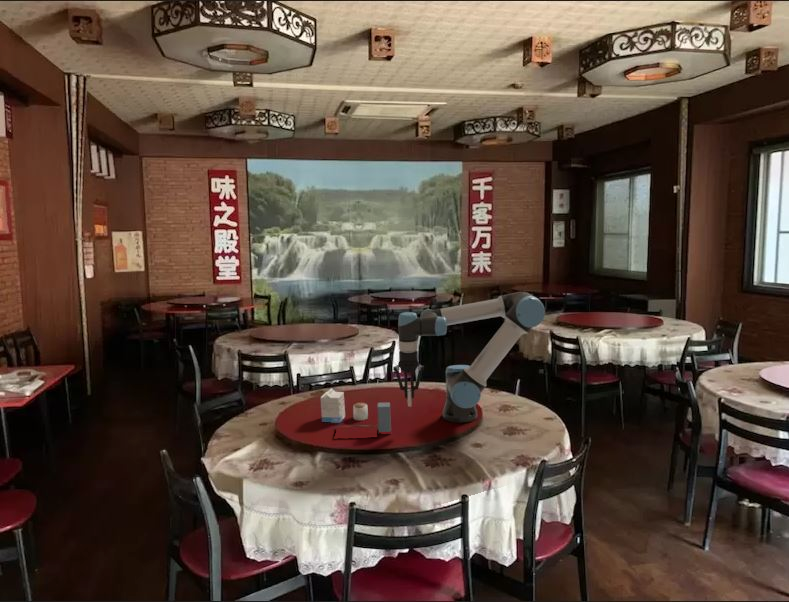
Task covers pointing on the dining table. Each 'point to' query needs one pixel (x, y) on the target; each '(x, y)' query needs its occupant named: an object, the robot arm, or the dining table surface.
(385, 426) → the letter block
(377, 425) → the tea board
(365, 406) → the white ceramic teacup
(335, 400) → the ink box
